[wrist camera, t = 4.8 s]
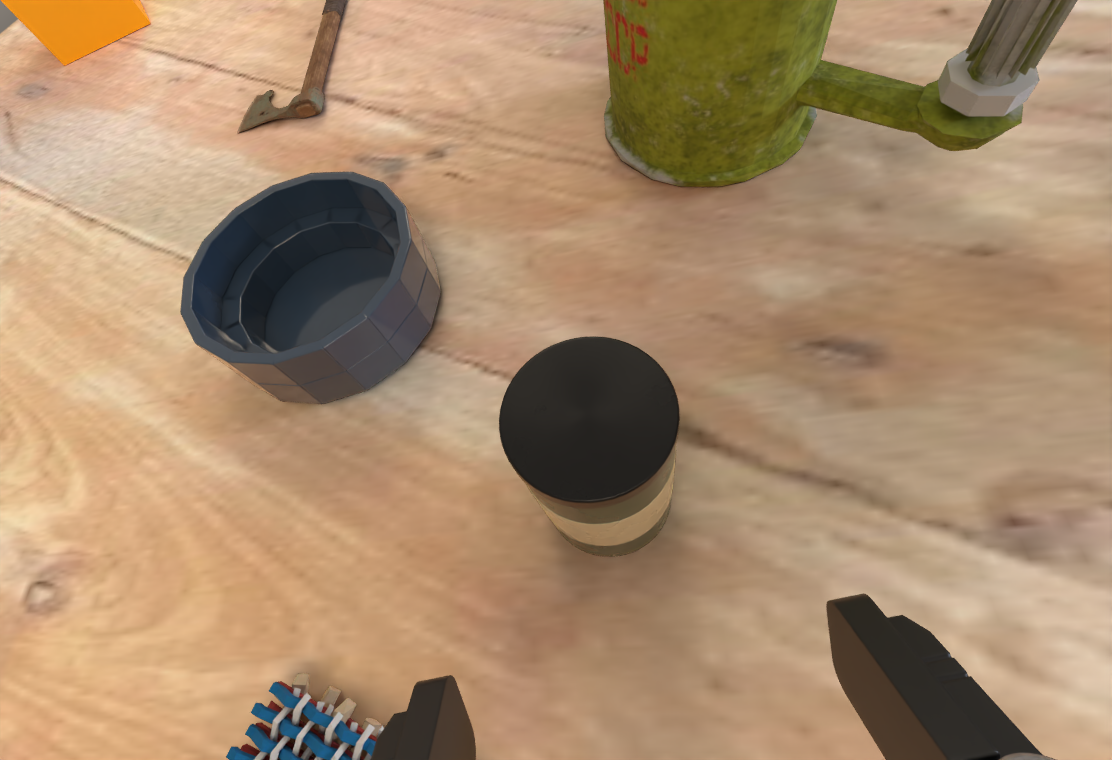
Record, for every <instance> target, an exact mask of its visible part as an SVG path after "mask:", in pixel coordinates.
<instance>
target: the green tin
mask: <svg viewBox="0 0 1112 760" xmlns="http://www.w3.org/2000/svg"><path fill="white" fill-rule="evenodd" d="M679 421H680V415H679V404H678V399H677V395H676V392H675V389H674V387H673V385H672V383H671V381H670V379H669V377H668V376H667V374H666V373H665V371H664V370H663V368H662V367H661V366H660V365H659V364H658V363H657V362H656V361H655V360H654V359H653V358H651V357H650V356H649V355H648V354H647V353H645V352H643V351H642V350H640V349H639V348H637V347H635V346H633V345H631V344H629V343H626V342H623V341H620V340H617V339H612V338H607V337H580V338H574V339H570V340H566V341H562V342H560V343H557V344H554V345H552V346H550V347H548V348H546V349H544V350H543V351H541V352H540V353H538V354H536V355H535V356H534V357H533V358H531V359H530V360H529V361H528V362H527V363H526V364H525V365H524V366H523V367H522V368H521V369H520V370H519V371H518V372H517V374H516V375H515V377H514V378H513V379H512V381H511V383H510V385H509V386H508V388H507V391H506V393H505V395H504V398H503V401H502V405H501V409H500V417H499V431H500V438H501V442H502V446H503V449H504V452H505V454H506V456H507V458H508V460H509V462H510V463H511V465H512V467H513V468H514V470H515V471H516V472H517V474H518V475H519V477H520V478H521V479H522V480H523V481H524V482H525V483H526V485H527V486H528V488H529V490H530V491H531V493H532V494H533V496H534V497H535V499H536V500H537V502H538V503H539V504H540V506H541V507H542V509H543V510H544V512H545V513H546V514H547V516H548V517H549V519H550V520H551V521H552V522H553V523H554V525H555V526H556V528H557V529H558V531H559V532H560V533H561V534H562V535H563V537H564V538H565V539H566V540H567V541H569V542H570V543H571V544H572V545H574V546H575V547H577V548H578V549H580V550H583V551H585V552H587V553H590V554H593V555H598V556H609V557H612V556H621V555H625V554H629V553H631V552H634V551H636V550H638V549H640V548H642V547H643V546H645V545H646V544H648V543H649V542H650V541H651V540H652V539H653V538H654V537H655V536H656V535H657V534H658V533H659V531H660V530H661V529H662V527H663V525H664V523H665V521H666V519H667V517H668V514H669V510H670V505H671V496H672V490H673V481H674V470H675V459H676V443H677V439H678V431H679Z"/></svg>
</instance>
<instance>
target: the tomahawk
mask: <svg viewBox="0 0 1112 760" xmlns="http://www.w3.org/2000/svg"><path fill="white" fill-rule="evenodd" d="M345 2H346V1H345V0H326V3H325V7H324V10H323V13H322V15H323V17H322V21H321V24H320V28H319V31H318V35H317V38H316V42H315V45H314V49H313V52H312V56H311V59H310V63H309V66H308V70H307V73H306V77H305V80H304V84H303V87H302V90H301V94H299V95H297V96H295V97H294V98H293V99H292V101H291V102H290V104H289V105H288V106H286V107H283V108H280V109H278V108H274V107H273V106H272V105H271V103H270V99H269V98H270V96H272V95H273V93H274V91H273V90H269V91H267V92H266V93H265V94H264V95H258V96H256V98H255V99H254V101H253V102H252V104H251V105H250V107H249V108H248V110H247V112H246V114H245V116H244V118H243V120H242V122H241V125H240V127H239V129H238V132H237V133H239V132H242V131H246V130H248V129H250V128H253V127H255V126H257V125H260V124H262V123H265V122H268V121H271V120H274V119H278V118H286V117H296V118H306V117H310V116H313V115H317V114H320V112H321V110H322V107H323V103H324V99H325V96H324V94H323V93H322V92H321V91H322V88H323V84H324V80H325V76H326V72H327V68H328V65H329V61H330V57H331V53H332V49H333V45H334V41H335V38H336V34H337V30H338V26H339V22H340V19H341V16H342V13H343V8H344V5H345ZM262 113H264V114H263V115H261V114H262Z"/></svg>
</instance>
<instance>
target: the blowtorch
mask: <svg viewBox="0 0 1112 760" xmlns="http://www.w3.org/2000/svg"><path fill="white" fill-rule="evenodd" d="M603 1H604V14H605V27H606V40H607V52H608V65H609V78H610V91H611V97H610V98H609V100H608V102H607V106H606V110H605V114H604V121H605V133H606V137H607V139H608V140H609V142H610V143H611V145H612V146H613V148H614V150H615V151H616V153H617V154H618V156H619V157H620V159H621V160H622V161H623V162H625V163H626V164H628V165H630V166H631V167H633V168H634V169H636V170H638V171H639V172H641V173H642V174H644V175H646V176H647V177H649V178H650V179H653V180H657V181H661V182H665V183H669V184H673V185H677V186H687V187H719V186H724V185H729V184H734V183H739V182H744V181H747V180H749V179H751V178H753V177H755V176H758V175H760V174H762V173H764V172H766V171H769V170H771V169H773V168H775V167H777V166H779V165H782V164H783V163H784V162H785V161H786V160H788V159H789V158H790V157H791V156H792V155H794V154H795V153H796V152H797V151H798V150H800V148H801V146H802V145H803V143H804V141H805V139H806V137H807V135H808V133H809V131H810V129H811V127H812V125H813V123H814V120H815V118H816V116H817V114H816V108H818V109H822V110H826V111H830V112H834V113H837V114H841V115H845V116H849V117H853V118H856V119H860V120H864V121H868V122H871V123H875V124H879V125H883V126H887V127H890V128H894V129H898V130H902V131H908V132H915V133H918V134H919V135H921V136H922V137H924V138H925V139H927V140H928V141H930V142H931V143H933V144H934V145H936V146H937V147H940V148H943V149H946V150H949V151H961V150H969V149H977V148H979V147H981V146H982V145H984V144H986V143H987V142H989V141H991V140H993V139H994V138H996V137H998V136H1000V135H1001V134H1003V133H1004V132H1005V131H1007V130H1009V129H1011V128H1013V127H1015V126H1017V125H1018V124H1020V123H1021V121H1022V111H1023V104H1022V103H1024V102H1025V101H1026V100H1027V99H1028V97H1029V96H1030V94H1031V93H1032V91H1033V89H1034V88H1035V86H1036V85H1037V83H1038V82H1039V76H1038V72H1037V68H1036V66H1037V64H1038V63H1039V61H1040V59H1041V58H1042V56H1043V55H1044V53H1045V51H1046V50H1047V48H1048V47H1049V45H1050V43H1051V42H1052V40H1053V39H1054V37H1055V35H1056V34H1057V32H1058V31H1059V29H1060V27H1061V26H1062V24H1063V23H1064V21H1065V19H1066V18H1067V16H1068V15H1069V13H1070V12H1071V10H1072V8H1073V7H1074V5H1075V4H1076V2H1077V0H992V1H991V3H990V5H989V7H988V9H987V11H986V13H985V15H984V17H983V19H982V21H981V23H980V25H979V27H978V29H977V31H976V33H975V35H974V37H973V39H972V41H971V43H970V45H969V47H968V48H967V49H966V50H964V51H963V52H961V53H959V54H958V55H956V56H955V57H953V58H952V59H950V60H949V61H947V63H946V65H945V67H944V70H943V72H942V74H941V76H940V78H939V80H937V81H935V82H932V83H930V84H927V85H926V86H925V87H923V86H919V85H915V84H911V83H907V82H904V81H900V80H896V79H892V78H888V77H884V76H880V75H877V74H873V73H869V72H865V71H861V70H857V69H853V68H850V67H846V66H842V65H838V64H834V63H830V62H826V61H823V60H821V57H822V54H823V50H824V46H825V43H826V39H827V35H828V32H829V28H830V25H831V21H832V17H833V14H834V10H835V6H836V3H837V0H603Z"/></svg>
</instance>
